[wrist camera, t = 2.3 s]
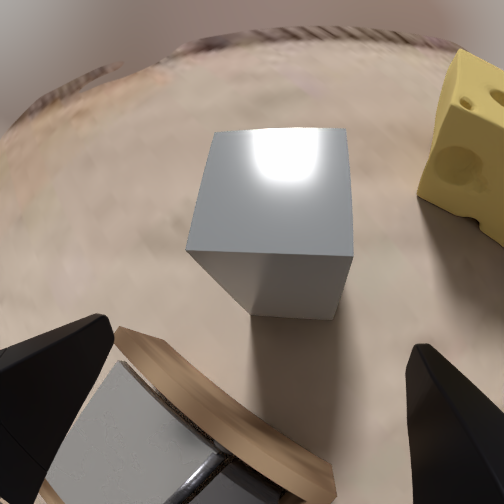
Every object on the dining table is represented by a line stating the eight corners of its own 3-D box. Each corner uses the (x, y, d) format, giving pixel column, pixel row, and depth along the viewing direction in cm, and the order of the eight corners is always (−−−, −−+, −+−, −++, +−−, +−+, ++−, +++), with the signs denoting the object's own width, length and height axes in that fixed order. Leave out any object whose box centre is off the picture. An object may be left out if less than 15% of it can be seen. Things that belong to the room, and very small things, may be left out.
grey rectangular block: (332, 320, 19) (353, 255, 9) (250, 315, 20) (185, 250, 10) (335, 242, 21) (345, 128, 11) (259, 240, 22) (214, 132, 12)
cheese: (511, 256, 17) (580, 190, 8) (406, 196, 21) (440, 98, 12) (518, 171, 20) (559, 102, 11) (431, 122, 24) (453, 40, 15)
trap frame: (331, 464, 15) (337, 496, 10) (196, 578, 11) (168, 611, 6) (163, 340, 20) (119, 325, 15) (71, 466, 17) (26, 474, 12)
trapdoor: (285, 485, 12) (279, 505, 10) (169, 577, 10) (151, 594, 7) (134, 362, 17) (107, 358, 14) (58, 471, 14) (33, 475, 11)
